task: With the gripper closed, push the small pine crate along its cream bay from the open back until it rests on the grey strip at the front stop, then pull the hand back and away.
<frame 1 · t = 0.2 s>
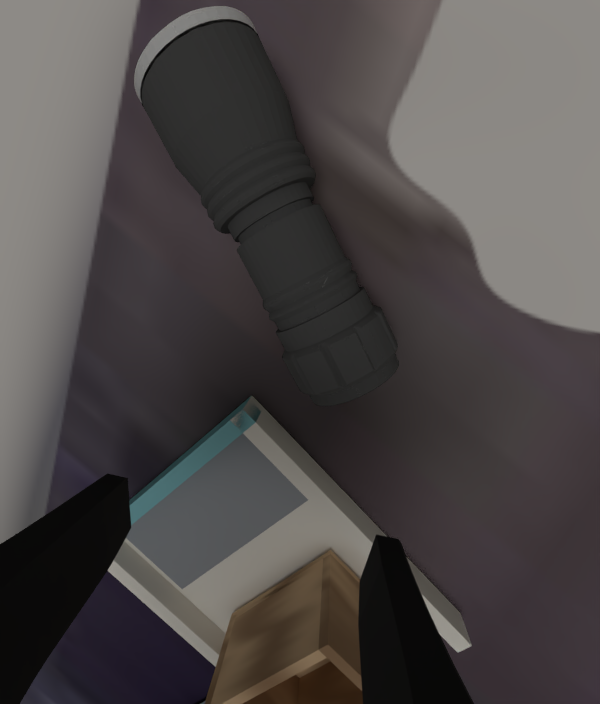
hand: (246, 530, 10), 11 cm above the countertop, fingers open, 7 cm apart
flashlight: (288, 239, 18), on the countertop
bay: (275, 567, 23), on the countertop
crate: (311, 663, 20), point 4 cm above the countertop, slide at 0.0 cm
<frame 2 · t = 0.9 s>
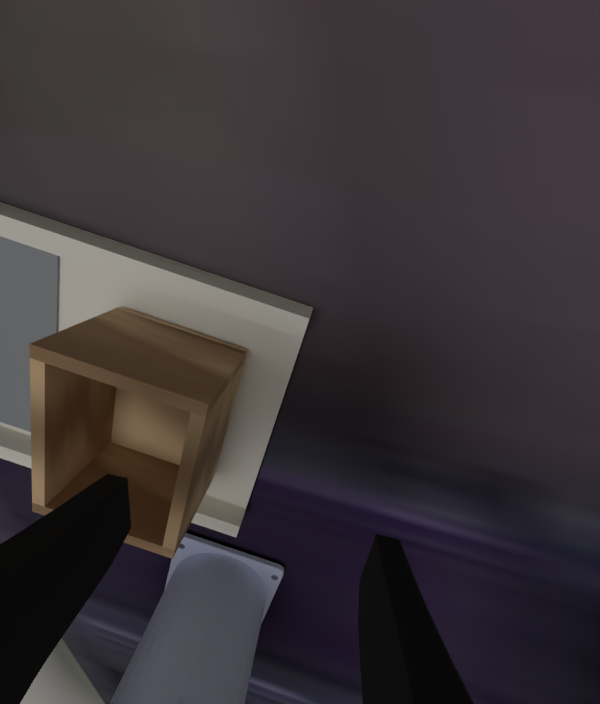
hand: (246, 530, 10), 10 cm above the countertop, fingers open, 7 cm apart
bay: (113, 370, 20), on the countertop
crate: (145, 427, 17), point 4 cm above the countertop, slide at 0.0 cm
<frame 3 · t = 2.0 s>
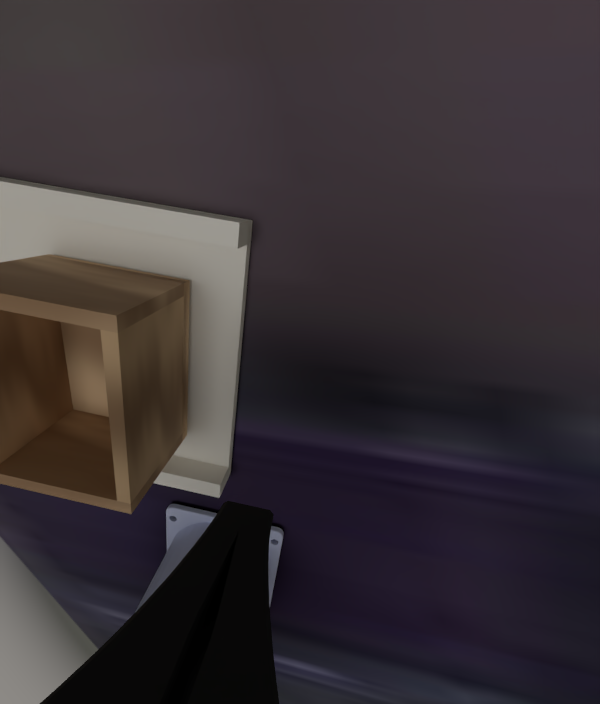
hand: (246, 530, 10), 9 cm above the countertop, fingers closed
bay: (65, 332, 19), on the countertop
crate: (87, 376, 16), point 4 cm above the countertop, slide at 0.0 cm
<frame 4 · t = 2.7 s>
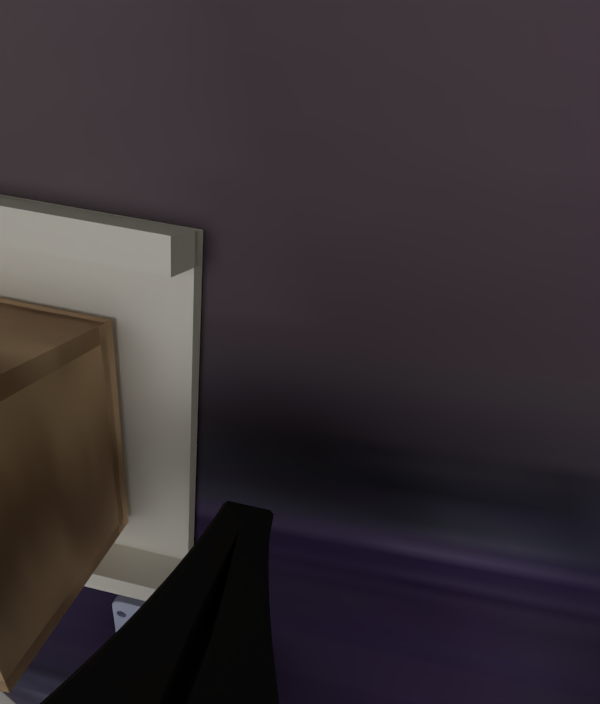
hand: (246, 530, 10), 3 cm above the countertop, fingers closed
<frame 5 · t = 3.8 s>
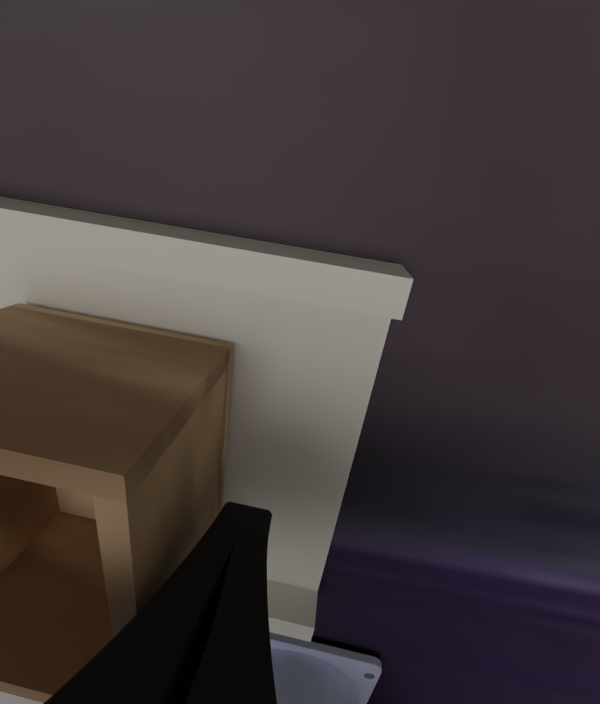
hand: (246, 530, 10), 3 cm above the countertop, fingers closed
bay: (93, 414, 13), on the countertop
crate: (77, 498, 10), point 4 cm above the countertop, slide at 1.9 cm, touching gripper
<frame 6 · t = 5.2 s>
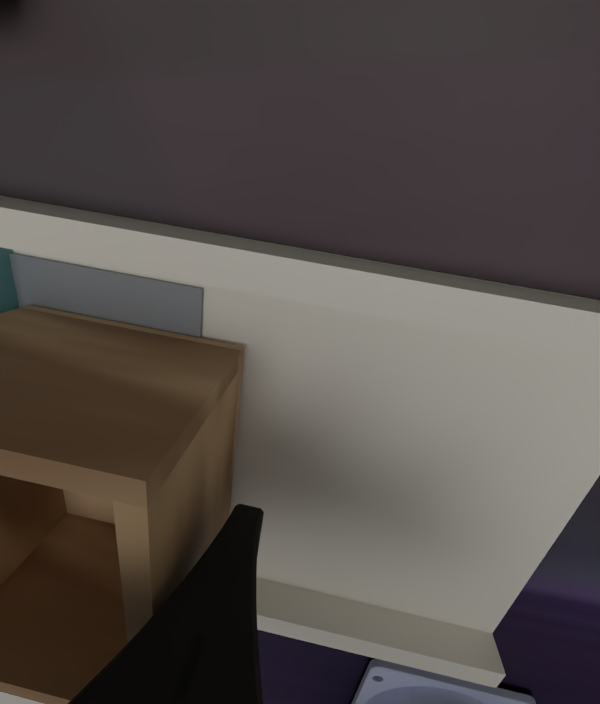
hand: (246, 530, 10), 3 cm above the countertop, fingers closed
bay: (281, 454, 13), on the countertop
crate: (87, 500, 10), point 4 cm above the countertop, slide at 9.1 cm, touching gripper
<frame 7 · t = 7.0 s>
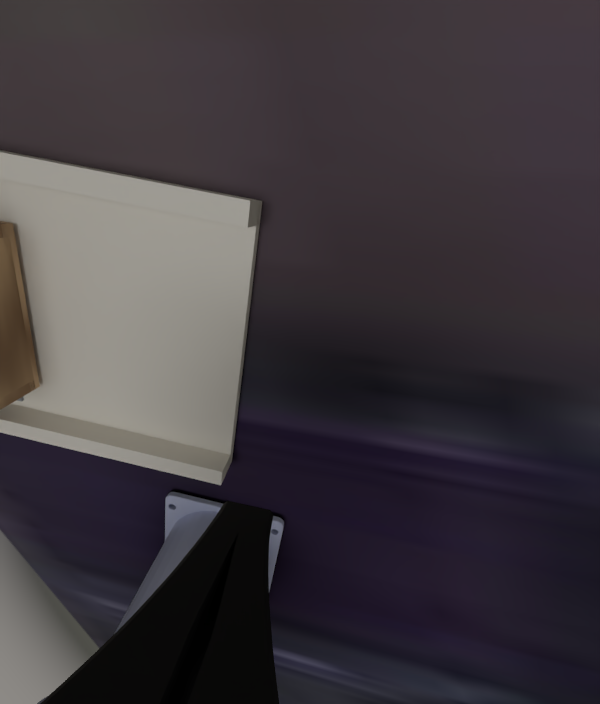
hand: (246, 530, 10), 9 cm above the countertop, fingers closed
bay: (67, 314, 19), on the countertop
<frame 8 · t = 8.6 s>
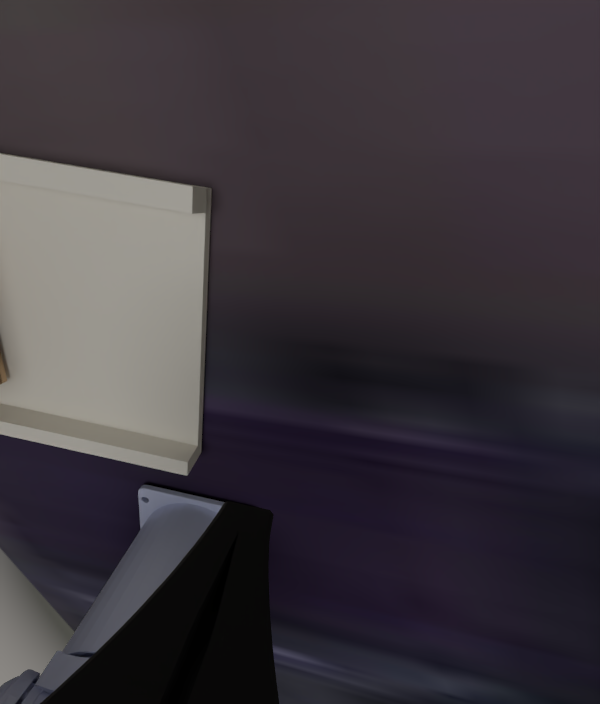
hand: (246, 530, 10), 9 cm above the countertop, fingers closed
bay: (30, 308, 19), on the countertop
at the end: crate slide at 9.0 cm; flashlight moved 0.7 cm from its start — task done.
